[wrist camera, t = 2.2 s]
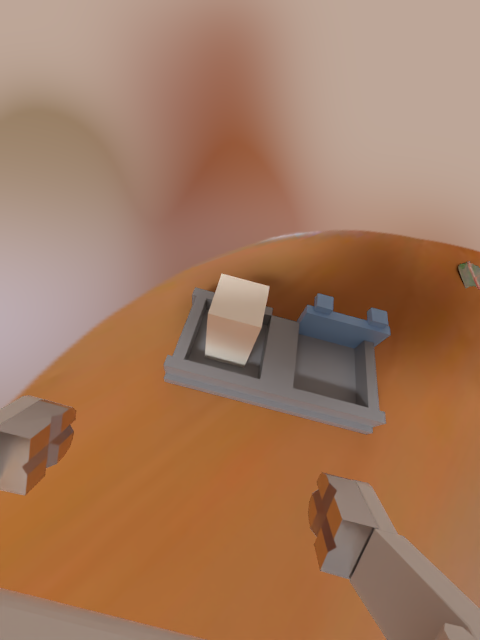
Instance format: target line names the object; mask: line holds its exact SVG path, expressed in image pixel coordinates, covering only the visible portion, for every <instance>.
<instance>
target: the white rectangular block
mask: <svg viewBox="0 0 480 640" xmlns="http://www.w3.org/2000/svg"><path fill="white" fill-rule="evenodd" d="M269 288H270V286H267V285H263V284H259V283H255V282H252V281H248V280H244V279H240V278H237V277H233V276H229V275H225V274H221V277H220V280H219V283H218V286H217V289H216V291H215V294H214V297H213V300H212V303H211V306H210V309H209V312H208V319H207V332H206V346H205V358H209V359H213V360H217V361H221V362H224V363H228V364H232V365H236V366H240V367H243V368H244V366H245V364H246V362H247V360H248V357H249V355H250V353H251V350H252V348H253V346H254V344H255V341H256V339H257V337H258V335H259V332H260V330H261V328H262V323H263V318H264V313H265V308H266V303H267V298H268V293H269Z"/></svg>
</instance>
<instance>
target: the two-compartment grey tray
mask: <svg viewBox="0 0 480 640" xmlns="http://www.w3.org/2000/svg"><path fill="white" fill-rule="evenodd" d="M214 294H215V293H214V292H211V291H207V290H203V289H199V288H196V287H195V289H194V292H193V294H192V305H193V306H192V308H191V311H190V313H189V316H188V318H187V321H186V323H185V326H184V328H183V331H182V333H181V336H180V338H179V341H178V344H177V346H176V349H175V351H174V354H173V356H170V355H167V358H166V360H165V363H164V369H165V372H166V374H165V376H164V380H165V382H168V383H172V384H176V385H180V386H184V387H187V388H191V389H195V390H199V391H203V392H207V393H210V394H214V395H218V396H222V397H226V398H229V399H233V400H237V401H241V402H245V403H249V404H252V405H256V406H260V407H264V408H268V409H271V410H275V411H279V412H283V413H287V414H291V415H294V416H298V417H302V418H306V419H310V420H314V421H317V422H321V423H325V424H329V425H333V426H336V427H340V428H344V429H348V430H352V431H356V432H359V433H363V434H371V433H373V428H372V427H375V426H379V425H382V424H386V420H385V412H383V411H379V400H378V388H377V376H376V364H375V352H374V347H375V346H376V345H378V344H379V343H380V342H382V341H383V340H385V339H386V338H387V337H389V336H390V335H391V333H390V326H388V325H389V324H388V316H387V311H383V310H379V309H376V308H372V307H371V308H370V309H369V310H368V311H367V320H363V319H360V318H356V317H352V316H348V315H345V314H341V313H337V312H333V299H334V297H331V296H327V295H323V294H319V293H318V294H317V295H316V297H315V302H314V306H311V305H307V306H306V308H305V309H304V311H303V312H302V314H301V315H300V317H299V318H298V320H297V321H292V320H288V319H285V318H281V317H277V316H273V315H272V311H273V308H271V307H267V306H266V308H265V313H264V318H263V323H262V328H261V330H260V332H259V335H258V337H257V339H256V341H255V344H254V346H253V348H252V350H251V353H250V355H249V357H248V360H247V362H246V364H245V366H244V368H243V367H240V366H236V365H232V364H228V363H224V362H221V361H217V360H213V359H209V358H205V346H206V332H207V319H208V312H209V309H210V306H211V303H212V300H213V297H214Z"/></svg>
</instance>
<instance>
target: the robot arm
mask: <svg viewBox="0 0 480 640" xmlns="http://www.w3.org/2000/svg"><path fill="white" fill-rule="evenodd" d="M75 419H76V410H75V409H74V408H73V407H69V406H66V405H62V404H59V403H55V402H52V401H48V400H45V399H44V400H43V399H40V398H37V397H33V396H23V397H21V398H19V399H17V400H16V401H14V402H12V403H10V404H8V405H7V406H5V407H3V408H1V409H0V490H3V491H7V492H12V493H16V494H21V495H26V494H27V493H28V492H29V491H30V490H31V489H32V488H33V487H34V486H35V485H36V484H37V483H38V482H39V481H40V480H41V479H42V478H43V477H44V476H45V472H46V468H48V467H50V466H52V465H55V464H57V463H58V462H59V461H60V460H61V459H62V458H63V457H64V455H65V454H66V452H67V450H68V449H69V447H70V445H71V442H72V440H73V434H74V431H73V429H72V427H71V426H70V424H71V423H72V422H73V421H75ZM317 485H318V490H317V491H315V492H314V493H312V496H311V498H310V501H309V509H308V517H309V524H310V529H311V530H312V531H313V533H314V534H315V535H316V537H317V538H316V541H315V543H314V546H315V551H316V555H317V560H318V564H319V568H320V571H323V572H326V573H330V574H333V575H337V576H340V577H343V578H347V579H350V583H351V584H352V586H353V587H354V589H355V590H356V592H357V594H358V595H359V597H360V598H361V600H362V601H363V603H364V604H365V606H366V608H367V609H368V611H369V612H370V614H371V615H372V617H373V619H374V620H375V622H376V623H377V625H378V626H379V628H380V630H381V631H382V633H383V634H384V636H385V637H386V639H387V640H480V609H479V608H478V607H477V606H476V605H475V604H474V603H473V602H472V601H471V600H470V599H469V598H468V597H467V596H466V595H465V594H464V593H463V592H462V591H461V590H459V589H458V588H457V587H456V586H455V585H454V584H453V583H452V582H451V581H450V580H449V579H448V578H447V577H446V576H445V575H444V574H443V573H442V572H441V571H440V570H439V569H437V568H436V567H435V566H434V565H433V564H432V563H431V562H430V561H429V560H428V559H427V558H426V557H425V556H424V555H423V554H422V553H421V552H420V551H419V550H418V549H417V548H415V547H414V546H413V545H412V544H411V543H410V542H409V541H408V540H407V539H406V538H405V537H404V536H401V535H398V533H397V532H396V530H395V528H394V526H393V524H392V522H391V521H390V519H389V517H388V515H387V513H386V511H385V510H384V508H383V506H382V504H381V502H380V500H379V499H378V497H377V495H376V493H375V491H374V490H373V488H372V486H371V485H370V484H368V483H365V482H361V481H356V480H350V479H346V478H342V477H338V476H334V475H330V474H327V473H323V472H322V473H321V474H320V476H319V478H318V480H317ZM0 640H207V639H203V638H199V637H195V636H191V635H187V634H183V633H179V632H175V631H171V630H167V629H163V628H159V627H155V626H151V625H147V624H143V623H139V622H135V621H131V620H127V619H123V618H119V617H115V616H111V615H107V614H103V613H99V612H95V611H91V610H87V609H83V608H79V607H75V606H71V605H67V604H63V603H59V602H55V601H51V600H47V599H43V598H39V597H35V596H31V595H27V594H23V593H19V592H15V591H11V590H7V589H3V588H0Z"/></svg>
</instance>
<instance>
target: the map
mask: <svg viewBox="0 0 480 640" xmlns="http://www.w3.org/2000/svg"><path fill="white" fill-rule="evenodd" d="M458 269H459V272H460V275H461V278H462V280H463V283H464V286H465V288H468V287H470V286H475V287H477V288H478V287H479V288H478V289H480V268H479V267H478V266H476V265H474V264H471V263H470V261H468V262H466V264H465V263H463V264H460V265H459V267H458Z"/></svg>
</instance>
